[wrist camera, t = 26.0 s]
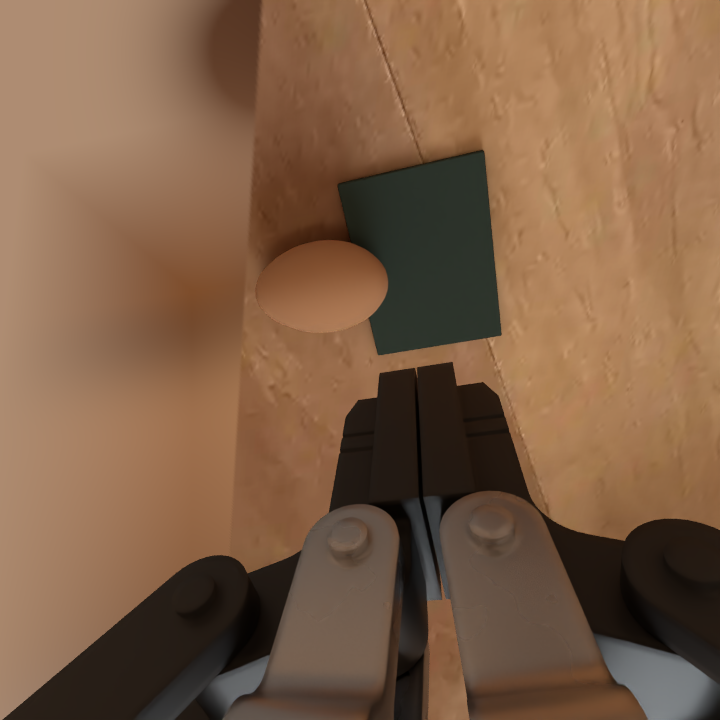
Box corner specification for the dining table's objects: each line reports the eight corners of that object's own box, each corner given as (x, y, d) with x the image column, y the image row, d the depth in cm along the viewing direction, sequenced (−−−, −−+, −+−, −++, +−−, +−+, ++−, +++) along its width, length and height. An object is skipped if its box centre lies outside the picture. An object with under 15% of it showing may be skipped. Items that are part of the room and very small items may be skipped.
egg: (376, 210, 24) (242, 232, 27) (371, 298, 22) (227, 313, 25) (399, 265, 29) (283, 280, 31) (397, 342, 27) (273, 351, 29)
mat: (338, 183, 26) (337, 185, 26) (482, 149, 25) (484, 150, 24) (378, 352, 31) (378, 355, 31) (500, 332, 30) (501, 335, 30)
